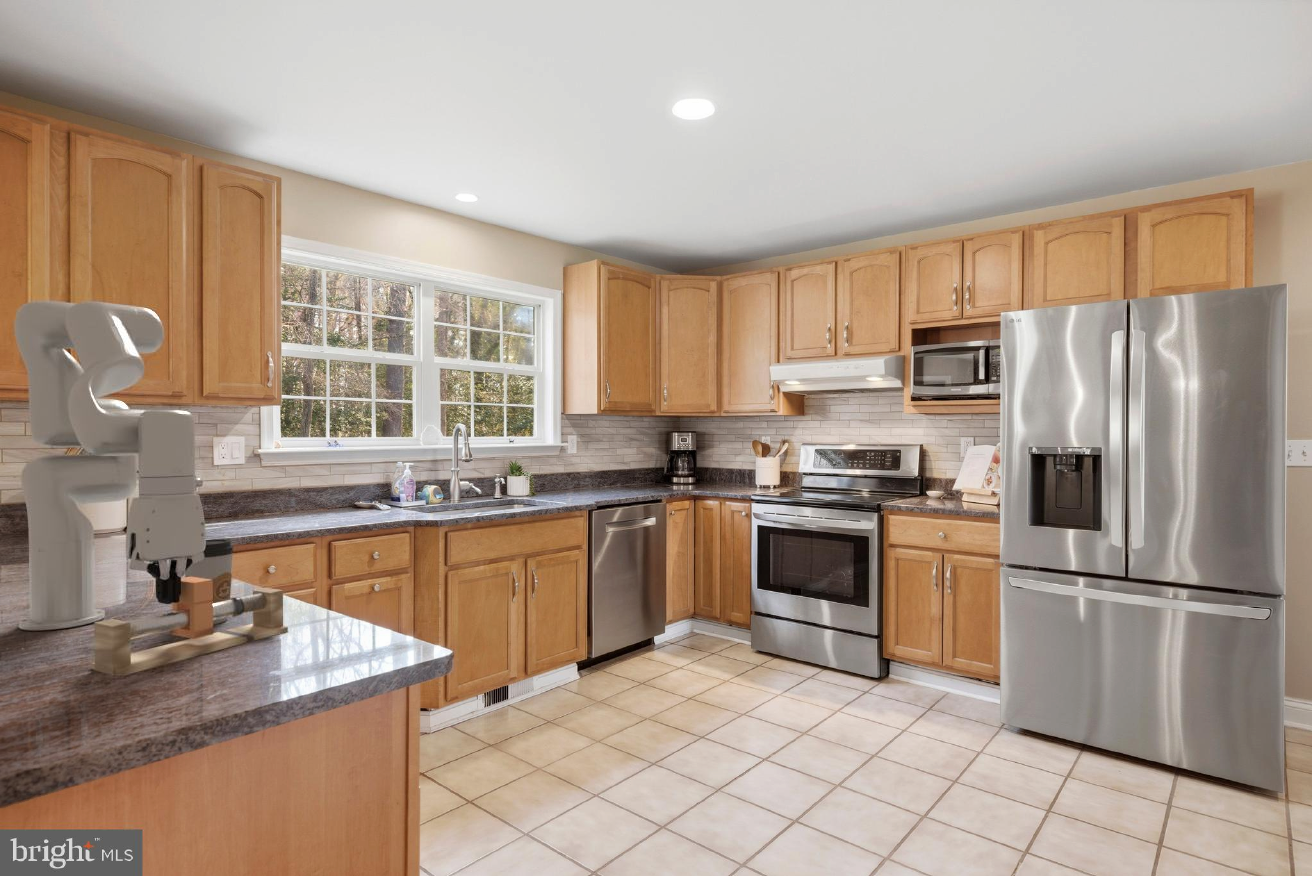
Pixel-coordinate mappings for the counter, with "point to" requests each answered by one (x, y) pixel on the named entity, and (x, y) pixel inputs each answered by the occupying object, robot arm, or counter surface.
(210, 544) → the coffee cup
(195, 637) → the collar
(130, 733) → the counter surface
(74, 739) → the counter surface
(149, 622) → the pipe
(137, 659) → the beige long frame
